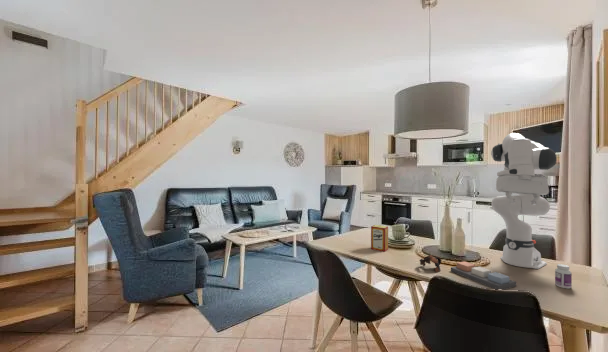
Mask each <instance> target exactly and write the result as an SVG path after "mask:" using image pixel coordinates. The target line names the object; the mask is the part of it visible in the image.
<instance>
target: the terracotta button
mask: <svg viewBox="0 0 608 352" xmlns="http://www.w3.org/2000/svg"><path fill="white" fill-rule="evenodd" d="M456 266H457V268H459V269H462V270H464V271H467V272H468V271H472V268H474V267H476V265H475V264H473V263H470V262H467V261H466V260H464V261H460V262H458V261H457V262H456Z"/></svg>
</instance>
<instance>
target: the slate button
mask: <svg viewBox="0 0 608 352" xmlns="http://www.w3.org/2000/svg"><path fill="white" fill-rule="evenodd" d="M488 279H489V280H491V281H494V282H497V283H499V284H505V283H509V279H510V275H509V276H508V275H506V274H503V273H501V272H497V271H495V272H491V273H489V274H488ZM510 280H511V279H510Z"/></svg>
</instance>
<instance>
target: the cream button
mask: <svg viewBox="0 0 608 352" xmlns="http://www.w3.org/2000/svg"><path fill="white" fill-rule="evenodd" d="M472 273H473V274H475V275H478V276H481V277H483V278H484V277H488V274H489V273H492V269H488V268H485V267H483V266H475V267H474V268H472Z"/></svg>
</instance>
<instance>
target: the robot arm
mask: <svg viewBox="0 0 608 352" xmlns="http://www.w3.org/2000/svg"><path fill="white" fill-rule="evenodd" d="M490 151H491V152H490V155H491V158H492V159H493V161H495V162H499V163H500V162H504V169H503V170H500V171H498V172H497V173H496V174H497V178H496V182H495V183H496V184H495V185H496V187H495V188H496V190H497V191H498V192H499V193H505V195H497V196H495V197H493V199H492V201H491V208H492V210H493V211H494V212H495V213H496V214H498V215H499V216H500V217H501V218H502V220H503V221H504V223H505V227H506V237H505V245H503V248H502V249H503V250H502V256H500V260H501V261H503V262H504V263H506V264H508V265H511V266H516V267H521V268H529V269H536V270H537V269H538V270H539V269H541V268H543V267H544V266H546V265H547V264H548V263H547V262H546V261H544V260H542V255H541V252H540V251H539V250H537V249H536V248H535V246H534V245H535V244H536V243H537V241H536V239H534V240H533V238H532V235H533V234H532V233H533V232H532V230H533V229H532V226H531V225H530V224H529V223H528V222H525V221H524V220H521V219H519V217H518V216H530V217H531V216H532V217H537V216H539V217H540V216H546V215H547V214H548V213H549V212H550V207H551V206H550V203H549V201H548V200H547V199H546V198H545V197H542V196H545V195H549V193H550V189H549V184H548V181H547V177H546V176H545V175H543V174H541V173H540V174H539V173H535V170H544V171H549V170H551V169H552V168H553V167H555V165H556V164H557V159H558V158H557V154H556V152H555V151H554V150H553V149H552V148H549V147H545V146H544V145H543V144H541V143H539V142H537V141H534V140H531V139H530V138H526V137H525V136H524V135H523V134H521V133H516V132H511V133H508V134H507V135H506V136H504V138H503V139H502V143H498V144H496V145H494V146H493V147H492V149H491V150H490ZM513 194H515V195H513Z"/></svg>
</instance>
